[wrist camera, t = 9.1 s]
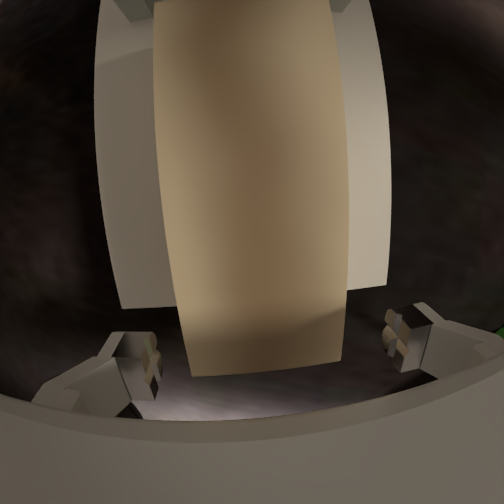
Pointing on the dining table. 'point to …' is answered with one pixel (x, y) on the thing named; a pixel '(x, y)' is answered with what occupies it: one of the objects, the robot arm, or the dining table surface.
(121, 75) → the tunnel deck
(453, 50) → the dining table surface
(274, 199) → the maple bar
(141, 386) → the robot arm
